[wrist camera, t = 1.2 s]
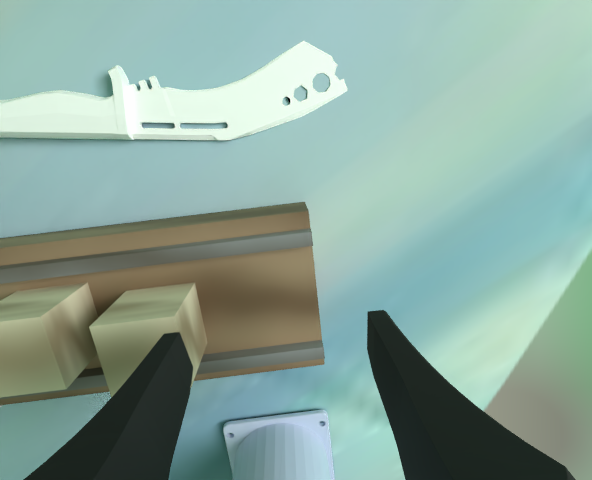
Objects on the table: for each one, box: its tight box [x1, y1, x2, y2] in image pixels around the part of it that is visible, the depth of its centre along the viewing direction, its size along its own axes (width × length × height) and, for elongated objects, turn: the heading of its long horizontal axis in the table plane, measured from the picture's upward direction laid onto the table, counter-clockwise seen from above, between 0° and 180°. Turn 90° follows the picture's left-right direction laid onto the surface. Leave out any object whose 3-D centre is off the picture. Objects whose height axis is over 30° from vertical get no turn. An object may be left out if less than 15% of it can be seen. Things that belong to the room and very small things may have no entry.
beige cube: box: [89, 283, 207, 397], centre depth 18 cm, size 4×4×4 cm
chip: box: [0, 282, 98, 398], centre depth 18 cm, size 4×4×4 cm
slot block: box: [0, 202, 325, 405], centre depth 21 cm, size 10×22×4 cm, turn 96°
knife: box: [0, 41, 348, 140], centre depth 19 cm, size 30×2×8 cm
